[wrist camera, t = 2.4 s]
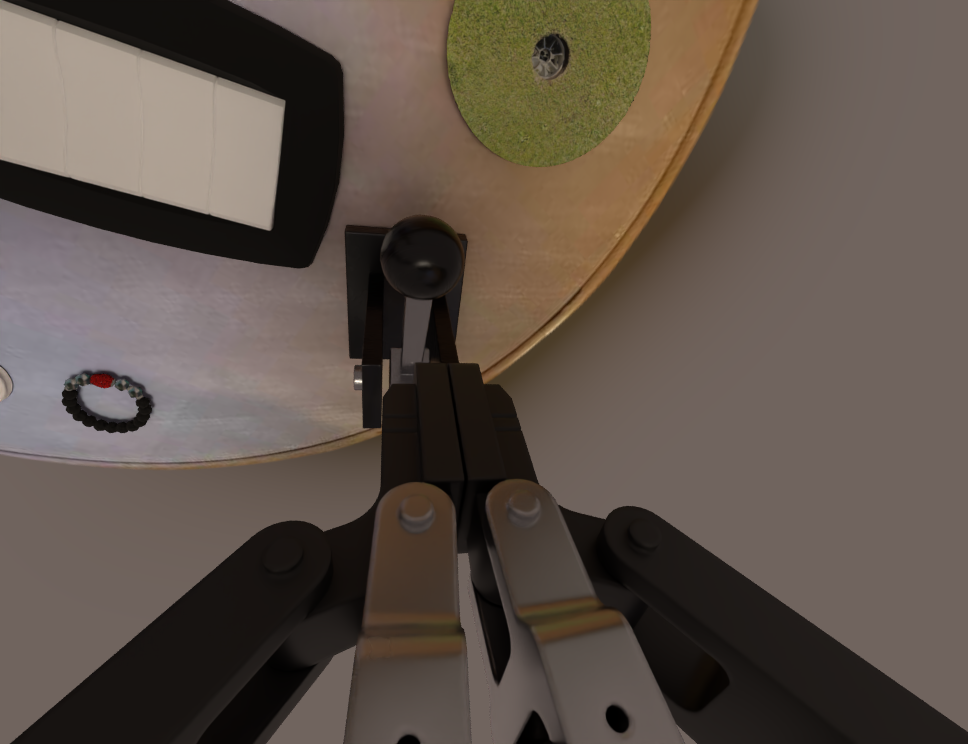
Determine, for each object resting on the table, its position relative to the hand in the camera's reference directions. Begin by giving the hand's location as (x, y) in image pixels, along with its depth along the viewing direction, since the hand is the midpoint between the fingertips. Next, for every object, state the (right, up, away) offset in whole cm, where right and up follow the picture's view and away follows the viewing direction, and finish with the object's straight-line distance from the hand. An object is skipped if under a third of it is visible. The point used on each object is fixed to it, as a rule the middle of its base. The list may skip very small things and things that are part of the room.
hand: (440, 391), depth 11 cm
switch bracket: (-5, +6, +23) cm, 24 cm away
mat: (+4, +19, +15) cm, 25 cm away
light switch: (-17, +14, +14) cm, 27 cm away
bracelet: (-28, -2, +24) cm, 37 cm away
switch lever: (-2, +4, +11) cm, 12 cm away
